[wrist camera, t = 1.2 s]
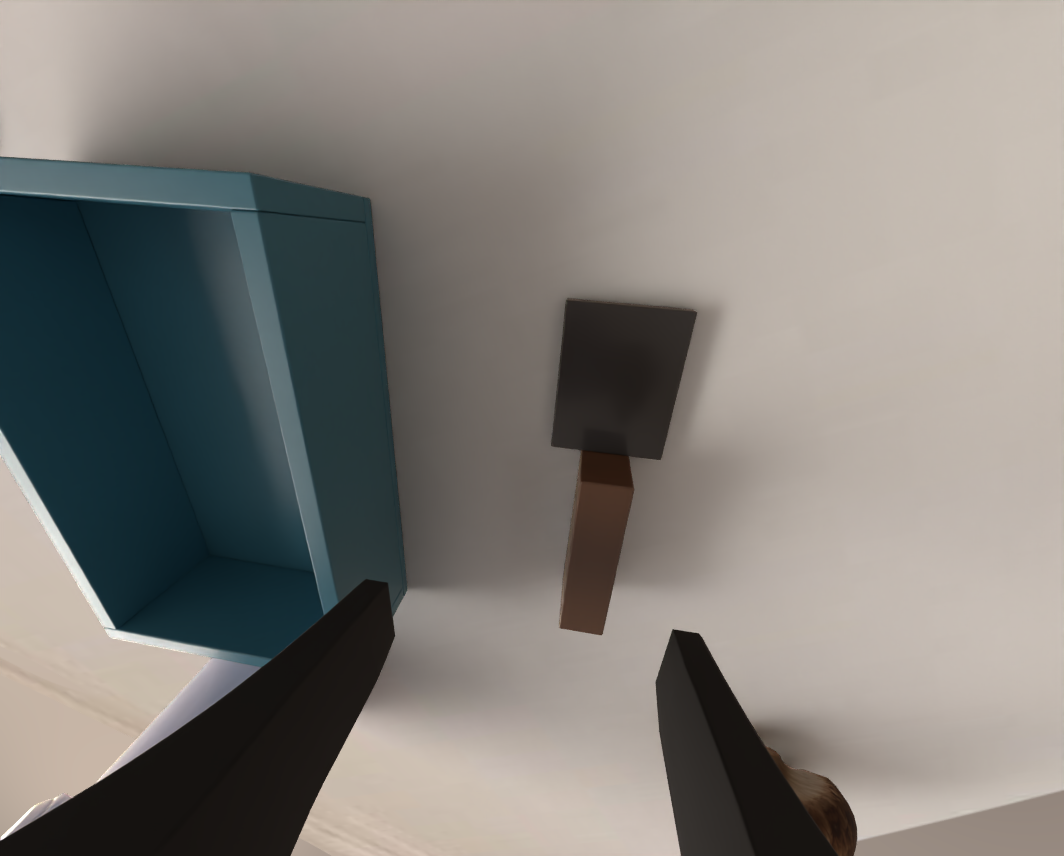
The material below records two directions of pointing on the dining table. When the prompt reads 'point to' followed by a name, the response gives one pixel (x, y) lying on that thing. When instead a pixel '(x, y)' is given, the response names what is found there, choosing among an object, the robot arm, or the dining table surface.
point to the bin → (198, 397)
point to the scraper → (611, 432)
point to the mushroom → (823, 806)
